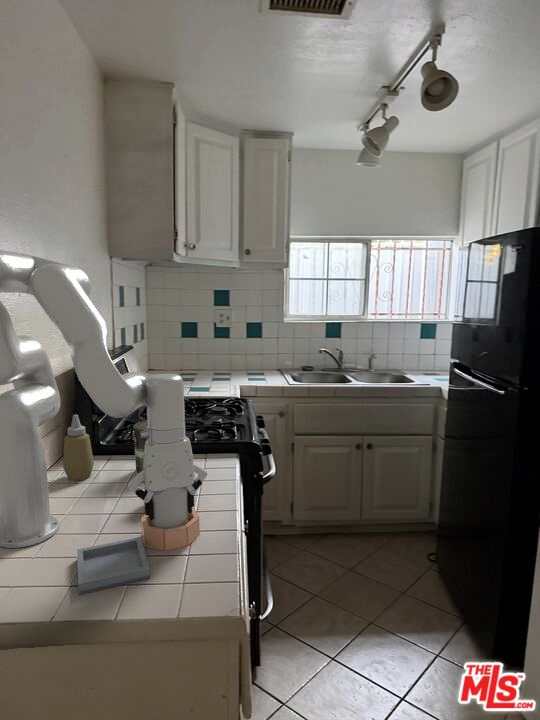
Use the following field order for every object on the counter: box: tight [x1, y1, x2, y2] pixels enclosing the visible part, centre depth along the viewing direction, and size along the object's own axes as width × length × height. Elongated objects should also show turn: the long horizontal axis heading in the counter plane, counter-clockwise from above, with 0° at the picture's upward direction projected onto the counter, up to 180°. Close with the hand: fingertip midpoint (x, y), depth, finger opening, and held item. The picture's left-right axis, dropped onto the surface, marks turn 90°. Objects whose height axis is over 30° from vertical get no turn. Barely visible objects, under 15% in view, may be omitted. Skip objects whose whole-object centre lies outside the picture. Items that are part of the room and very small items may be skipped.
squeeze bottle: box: [62, 414, 95, 482], centre depth 132 cm, size 8×8×18 cm
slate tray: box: [76, 536, 151, 596], centre depth 89 cm, size 12×12×2 cm
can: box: [151, 487, 188, 529], centre depth 101 cm, size 8×8×12 cm
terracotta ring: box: [140, 507, 201, 552], centre depth 101 cm, size 12×12×4 cm
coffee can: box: [132, 420, 148, 476], centre depth 136 cm, size 10×10×14 cm
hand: (170, 513), depth 101 cm, fingers closed on can, 7 cm apart
